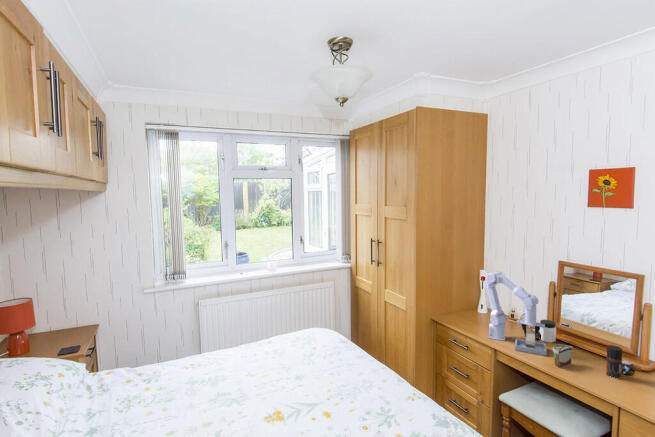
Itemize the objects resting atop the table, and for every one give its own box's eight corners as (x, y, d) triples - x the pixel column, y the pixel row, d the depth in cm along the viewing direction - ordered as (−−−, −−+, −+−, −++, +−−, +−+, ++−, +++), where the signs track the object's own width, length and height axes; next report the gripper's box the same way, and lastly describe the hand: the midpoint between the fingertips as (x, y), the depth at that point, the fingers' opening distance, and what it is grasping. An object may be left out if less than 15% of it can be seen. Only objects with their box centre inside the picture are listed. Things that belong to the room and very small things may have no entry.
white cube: (526, 340, 203) (526, 333, 202) (526, 337, 207) (526, 330, 206) (534, 341, 200) (535, 334, 200) (534, 338, 204) (534, 331, 204)
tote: (515, 350, 203) (515, 345, 203) (515, 343, 213) (515, 338, 213) (546, 356, 195) (546, 351, 195) (545, 348, 205) (545, 343, 204)
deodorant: (619, 379, 169) (620, 351, 168) (604, 375, 174) (605, 347, 173) (622, 375, 173) (623, 348, 171) (608, 371, 177) (609, 344, 176)
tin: (525, 349, 204) (525, 342, 203) (525, 346, 208) (525, 339, 207) (535, 351, 201) (535, 343, 201) (534, 347, 205) (534, 340, 205)
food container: (561, 358, 192) (562, 342, 191) (572, 363, 186) (573, 346, 185) (546, 363, 187) (547, 346, 187) (557, 368, 182) (558, 351, 181)
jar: (549, 343, 210) (550, 325, 210) (537, 338, 218) (537, 321, 217) (558, 340, 214) (558, 322, 213) (545, 335, 222) (545, 318, 221)
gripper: (517, 316, 203) (516, 337, 204) (545, 319, 195) (544, 342, 196) (517, 312, 209) (516, 333, 210) (544, 315, 201) (544, 337, 202)
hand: (530, 337), depth 203 cm, fingers closed on white cube, 4 cm apart
